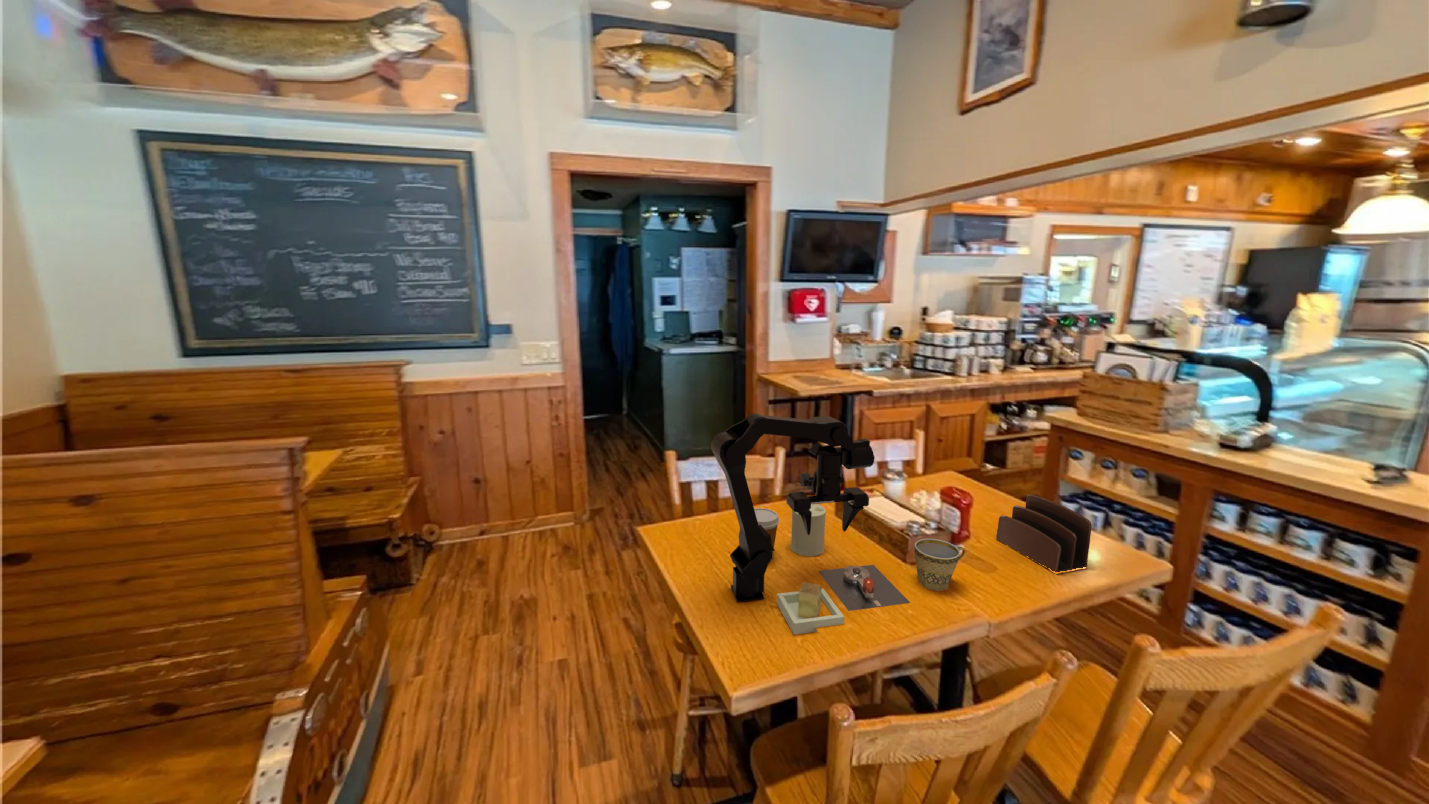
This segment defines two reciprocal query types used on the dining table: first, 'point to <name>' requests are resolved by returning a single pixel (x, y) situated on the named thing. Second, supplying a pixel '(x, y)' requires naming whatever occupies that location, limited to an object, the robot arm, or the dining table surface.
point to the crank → (860, 579)
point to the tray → (804, 625)
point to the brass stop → (809, 600)
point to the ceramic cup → (936, 562)
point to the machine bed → (854, 596)
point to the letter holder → (1047, 534)
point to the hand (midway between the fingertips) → (826, 532)
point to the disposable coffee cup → (768, 521)
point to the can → (815, 540)
